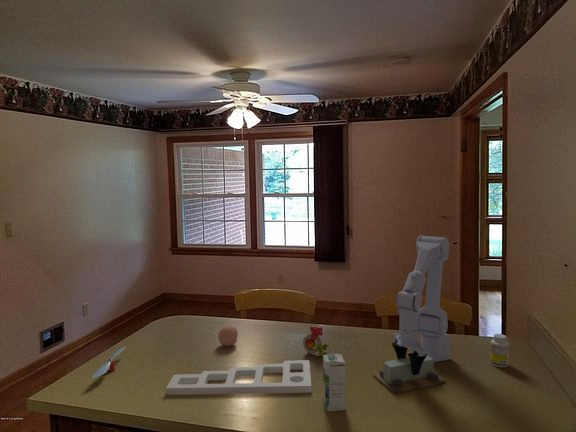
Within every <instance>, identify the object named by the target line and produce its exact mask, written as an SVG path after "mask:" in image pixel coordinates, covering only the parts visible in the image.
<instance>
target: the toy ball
mask: <svg viewBox="0 0 576 432" xmlns="http://www.w3.org/2000/svg"><path fill="white" fill-rule="evenodd" d="M238 334H239V332H238V329H237V328H236V327H235V326H233V325H225V326H223V327H222V328H221V329H220V330H219V331H218V334H217V336H218V337H217V339H218V342H219V343H220V344H221V345H223V346H225V347H232V346H233V345H235V344H236V343H237V341H238Z"/></svg>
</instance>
